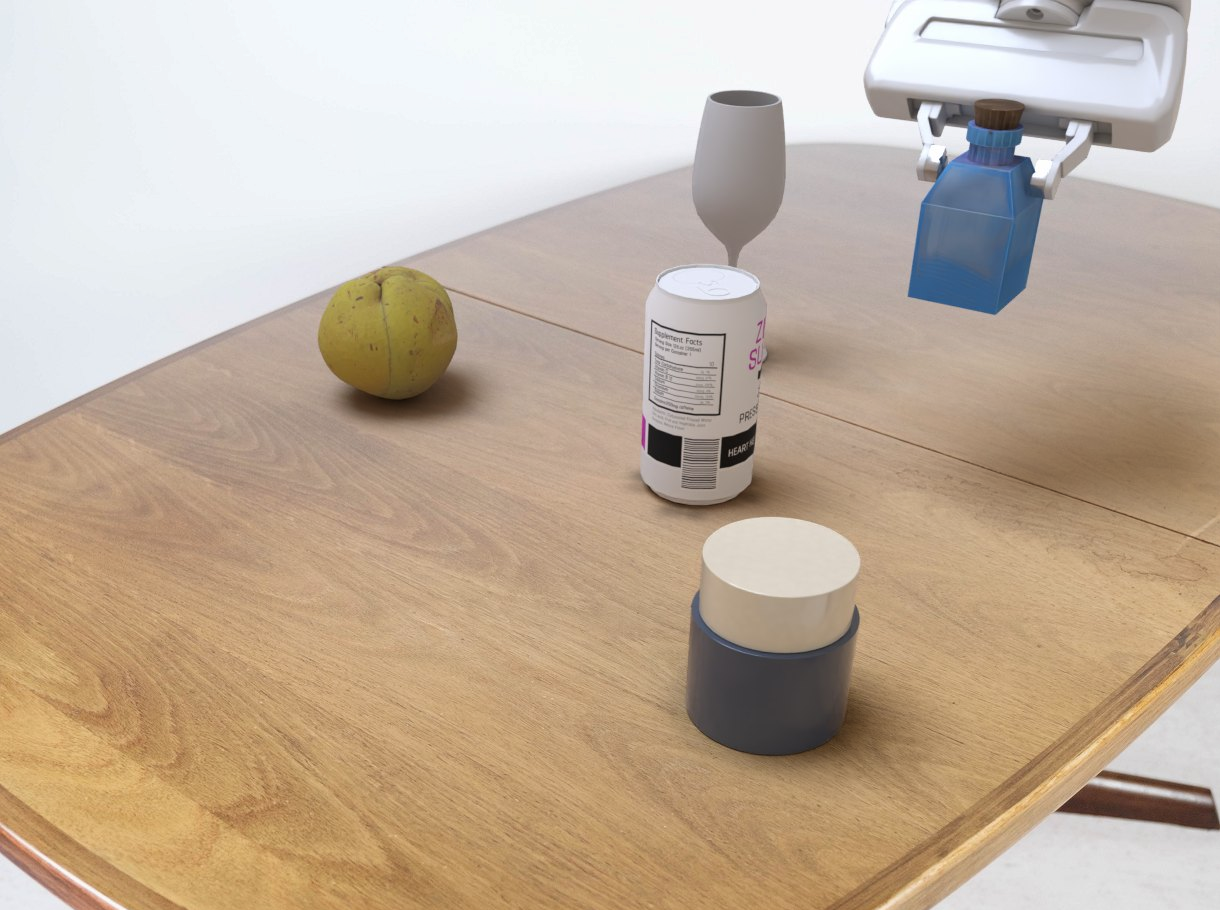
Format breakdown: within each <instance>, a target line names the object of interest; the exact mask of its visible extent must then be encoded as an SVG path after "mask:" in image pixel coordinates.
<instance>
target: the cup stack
mask: <svg viewBox="0 0 1220 910" xmlns="http://www.w3.org/2000/svg"><path fill="white" fill-rule="evenodd" d="M701 551H702V552H701V563H700V575H699V576H700V577H699V588H698V590H697V591H696V592H695V594H694V596H693V597H692V600H691V605H690V617H689V618H690V619H689V634H688V635H689V637H688V651H687V666H686V668H687V669H686V680H685V681H686V682H685V685H686V686H685V699H684V700H685V701H684V705H685V709H686V713H687V715H688V717H689V719H690V721H691V722H692V723H693V725H694V726H695V727H696V728H697V729H698V730H699V731H700V732H701V733H703V734H704V735H705V736H707V737H708V738H709V739H710V740H712V741H715V742H717V743H718V744H720V745H723V746H726V747H727V748H730V749H733V750H736V751H739V752H743V753H749V754H753V755H762V756H787V755H795V754H799V753H803V752H807V751H810V750H813V749H816V748H818V747H820V746H822V745H824V744H826V743H827V742H829V741H831V739H832V738H834V737H835V736H836V735H837V734H838V732H840V730H841V729H842V727H843V724H844V722H845V718H846V715H847V714H846V713H847V707H848V701H849V696H850V695H849V694H850V688H851V683H852V682H851V681H852V676H853V669H854V663H855V656H856V650H857V644H858V643H857V642H858V637H859V636H858V635H859V630H860V624H861V616H860V611H859V608H858V606H857V604H856V600H857V599H856V598H857V594H858V586H859V580H860V573H861V566H862V561H861V556H860V553H859V551H858V549H857V548H856V547H855V545H854V544H853V543H852V542H851V541H850V540H849V539H848V538H846V536H844V535H842V534H841V533H839V532H837V531H835V530H834V529H831V528H829V527H828V526H826V525H825V526H824V525H822V524H819V523H816V522H813V521H809V520H804V519H799V518H793V517H784V516H760V517H759V516H758V517H751V518H745V519H741V520H736V521H733V522H730V523H728V524H725V525H723V526H721V527H719V528H717V529H716V530H715V531H713V532H712V533H711V534H710V535H709V536H708V538H706V540H705V541H704V544H703V545H702V550H701Z"/></svg>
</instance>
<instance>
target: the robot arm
mask: <svg viewBox="0 0 1220 910" xmlns="http://www.w3.org/2000/svg"><path fill="white" fill-rule="evenodd" d="M1191 10H1192V0H893V1H892V2H891V6H890V9H889V11H888V14H887V17H886V20H885V23H884V30H883V31H882V33H881V35H880V37H879V39H878V41H877V42H876V45H875V46H874V49H873V50H872V53H871V55H870V58H869V59H868V62H867V64H866V66H865V69H864V72H863V78H862V79H863V88H864V93H865V96H866V100H867V102H868V105H869V107H870V109H871V110H872V113H873V114H874V115H875V116H876V117H878V118H883V119H891V120H898V121H907V122H914V123H917V125H918V130H919V135H920V139H921V143H922V149H921V152H920V154H919V157H918V160H917V163H916V171H915V172H916V176H917V181H921V182H928V183H934V184H935V182H936V181H937V179H938V178H939V176H940V175H941V174H942V172H943V171H944V169H945V168H946V166H947V165H948V163H949V158H948V156H947V154H948V153H947V152H948V151H947V146H945V145H944V146H943V145H938V144H935V142H934V138H940V137H941V136H942V135H943V131H944V129H945V127H951V128H960V129H966V130H967V129H968V123H969V122H970V121H972V120H975V114H974V102H975V101H977V100H980V99H991V98H995V99H1008V100H1014V101H1018V102H1021V103H1023V104H1024V105H1025V108H1024V111H1023V114H1022V116H1021V119H1020V121H1019V123H1020V124H1022V125H1023V126H1024V129H1023V135H1022V137H1027V138H1028V137H1029V138H1035V139H1036V138H1037V139H1043V140H1050V141H1058V142H1065V145H1064V147H1063V148H1062V149H1061V150H1060V151H1058V152H1057V154H1056V155H1054V157H1053V158H1051V159H1050V160H1047V159H1037V161H1036V164H1035V167H1034V169H1035V173H1034V174H1033V175H1032V178H1031V181H1030V186H1029V190H1030V191H1031V192H1030V197H1035V198H1041V199H1043V200H1047V201H1054V199H1055V197H1056V195H1057V191H1058V188H1059V186H1060V183H1061V180H1062V179H1064V178H1065V177H1067V176H1068V175H1069V174H1071V172H1072V171H1074V170H1075V169H1076V168H1077V167H1078V166H1079V165H1080V164H1082V163H1083V162H1084V161H1085V160H1087V158H1088V156H1089V153H1090V150H1091V148H1092V146H1097V147H1102V148H1103V147H1104V148H1111V149H1120V150H1125V151H1134V152H1142V153H1149V154H1150V153H1154V152H1156V151H1157V150H1159V149H1160V148H1162V147H1163V146H1165V145H1166V144H1167V143H1169V142H1170V141H1171V139H1172V136H1173V134H1174V131H1175V129H1176V127H1175V126H1176V124H1177V121H1178V116H1179V113H1180V108H1181V102H1182V96H1183V89H1184V82H1185V74H1186V66H1187V55H1188V42H1189V41H1188V40H1189V38H1188V37H1189V34H1188V28H1189V23H1190V17H1191V12H1192V11H1191ZM933 137H934V138H933Z"/></svg>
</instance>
